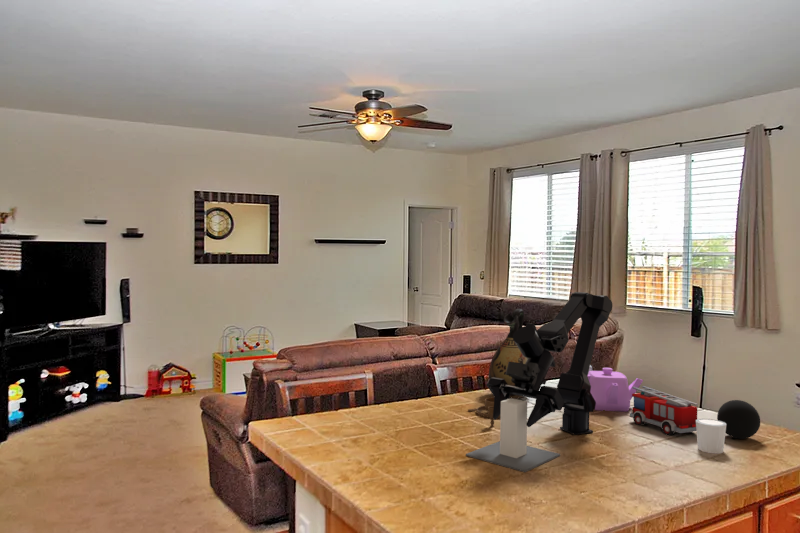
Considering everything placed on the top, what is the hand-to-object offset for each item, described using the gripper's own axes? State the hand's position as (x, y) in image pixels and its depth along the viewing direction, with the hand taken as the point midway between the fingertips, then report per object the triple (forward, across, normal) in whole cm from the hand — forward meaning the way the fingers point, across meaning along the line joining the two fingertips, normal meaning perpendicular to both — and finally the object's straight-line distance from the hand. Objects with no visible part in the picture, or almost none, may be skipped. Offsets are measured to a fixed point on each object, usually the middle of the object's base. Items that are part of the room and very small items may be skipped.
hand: (510, 422), depth 141 cm
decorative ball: (-34, +35, +46) cm, 67 cm away
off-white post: (+4, 0, +6) cm, 8 cm away
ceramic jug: (-35, -36, +47) cm, 68 cm away
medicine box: (-56, -23, +68) cm, 90 cm away
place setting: (-13, -25, +26) cm, 38 cm away
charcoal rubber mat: (+5, 0, +7) cm, 8 cm away
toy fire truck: (-31, +17, +43) cm, 56 cm away
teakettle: (-41, -5, +53) cm, 67 cm away
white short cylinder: (-22, +32, +34) cm, 52 cm away
